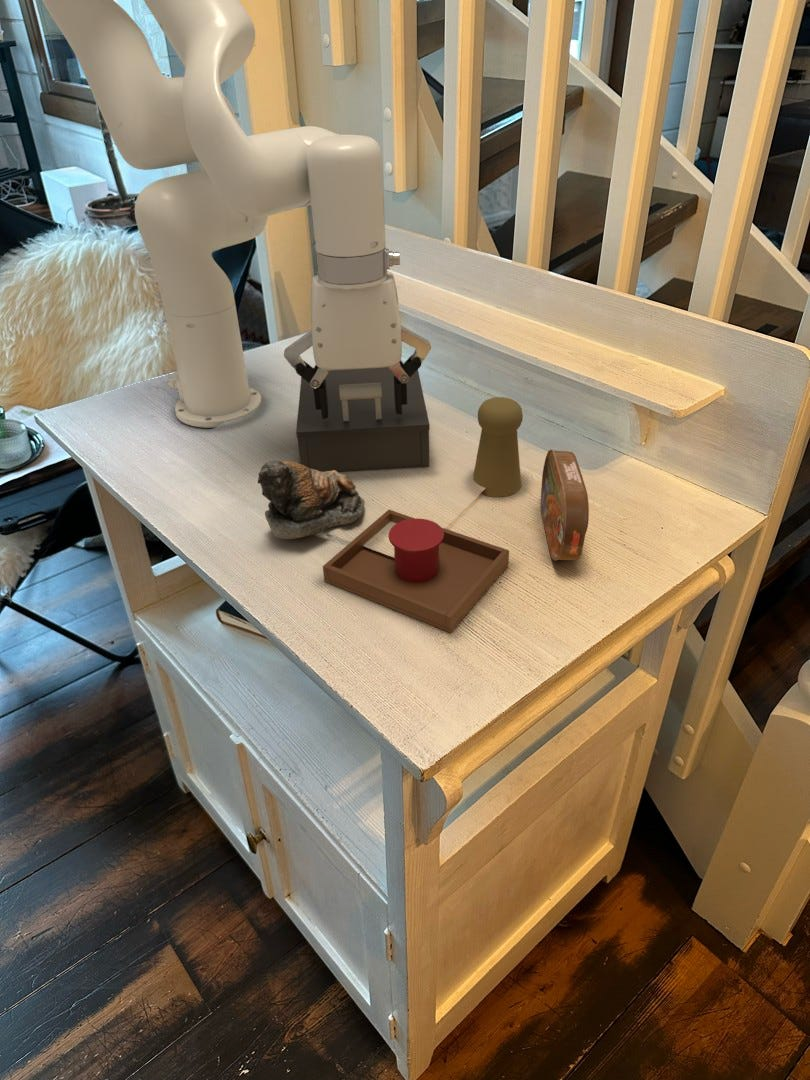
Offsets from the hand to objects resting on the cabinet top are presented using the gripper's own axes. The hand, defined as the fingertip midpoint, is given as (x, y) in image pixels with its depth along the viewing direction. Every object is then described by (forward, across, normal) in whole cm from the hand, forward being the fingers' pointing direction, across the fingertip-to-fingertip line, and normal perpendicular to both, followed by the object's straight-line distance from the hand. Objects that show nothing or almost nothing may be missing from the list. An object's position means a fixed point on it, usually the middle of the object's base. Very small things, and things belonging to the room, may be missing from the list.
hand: (361, 411), depth 92 cm
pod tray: (+8, -5, +22) cm, 24 cm away
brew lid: (+2, 0, -7) cm, 7 cm away
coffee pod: (+8, -5, +22) cm, 23 cm away
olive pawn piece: (+9, -16, +5) cm, 19 cm away
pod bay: (+8, 0, -7) cm, 11 cm away
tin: (+9, -21, +16) cm, 28 cm away
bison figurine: (+9, +6, +12) cm, 16 cm away
